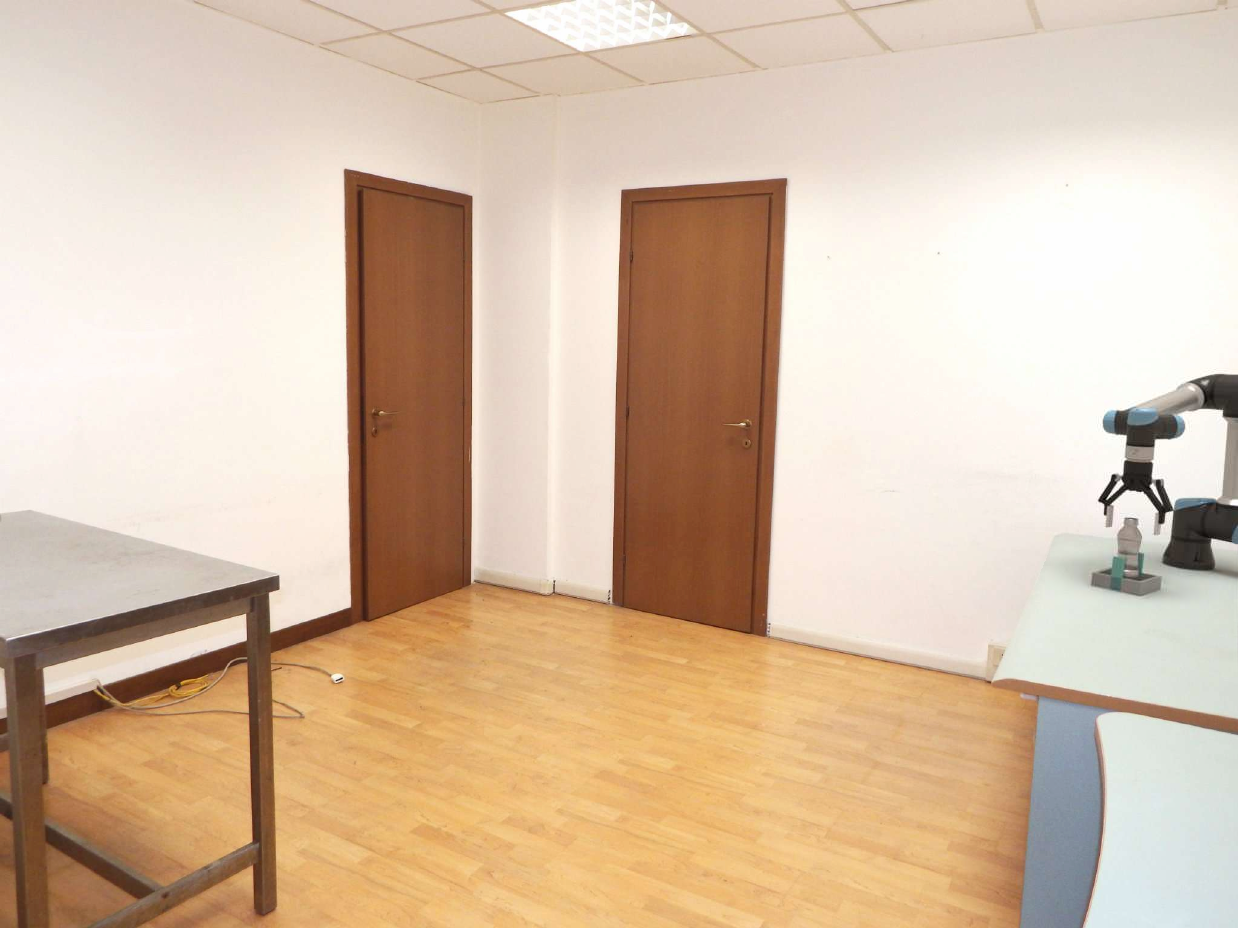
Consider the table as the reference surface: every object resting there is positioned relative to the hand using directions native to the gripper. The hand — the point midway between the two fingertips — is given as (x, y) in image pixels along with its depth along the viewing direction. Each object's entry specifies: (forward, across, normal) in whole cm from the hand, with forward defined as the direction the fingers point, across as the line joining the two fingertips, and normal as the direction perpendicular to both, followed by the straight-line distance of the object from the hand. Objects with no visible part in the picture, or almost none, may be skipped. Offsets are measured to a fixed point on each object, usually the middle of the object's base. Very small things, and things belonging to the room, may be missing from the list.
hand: (1132, 530), depth 272 cm
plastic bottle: (+16, 0, -1) cm, 17 cm away
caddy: (+17, 0, -1) cm, 17 cm away
